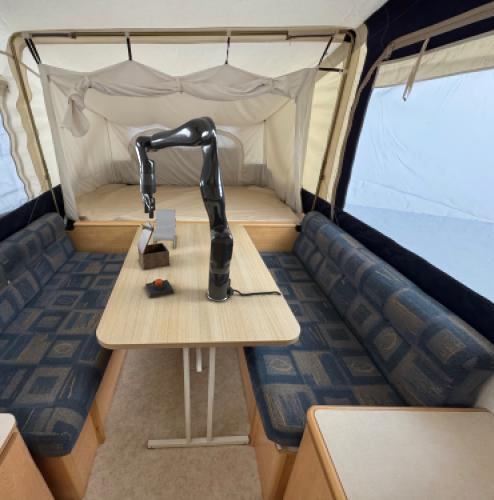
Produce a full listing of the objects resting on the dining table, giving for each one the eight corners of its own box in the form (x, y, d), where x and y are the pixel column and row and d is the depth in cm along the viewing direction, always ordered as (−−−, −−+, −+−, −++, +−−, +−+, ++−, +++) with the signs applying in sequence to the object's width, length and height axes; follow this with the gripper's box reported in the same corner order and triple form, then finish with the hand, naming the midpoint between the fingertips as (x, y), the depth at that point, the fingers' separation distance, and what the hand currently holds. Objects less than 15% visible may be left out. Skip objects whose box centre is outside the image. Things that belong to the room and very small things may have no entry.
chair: (176, 235, 190) (175, 208, 182) (174, 249, 167) (174, 220, 159) (157, 234, 190) (156, 208, 181) (153, 249, 167) (151, 220, 159)
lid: (148, 221, 147) (140, 218, 145) (154, 228, 136) (145, 225, 134) (138, 245, 151) (130, 243, 148) (143, 254, 140) (134, 252, 138)
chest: (162, 256, 160) (162, 242, 156) (169, 265, 149) (169, 251, 145) (138, 259, 154) (137, 246, 151) (143, 270, 144) (142, 255, 140)
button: (161, 281, 127) (161, 278, 126) (163, 285, 124) (163, 281, 123) (154, 282, 126) (154, 279, 125) (156, 286, 123) (156, 283, 122)
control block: (167, 283, 132) (167, 276, 131) (173, 293, 125) (173, 285, 123) (145, 287, 128) (145, 280, 127) (150, 297, 121) (149, 290, 119)
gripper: (160, 185, 119) (160, 219, 126) (151, 179, 130) (152, 210, 137) (144, 185, 116) (145, 221, 123) (136, 179, 128) (137, 212, 135)
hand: (148, 215), depth 130 cm, fingers open, 8 cm apart
